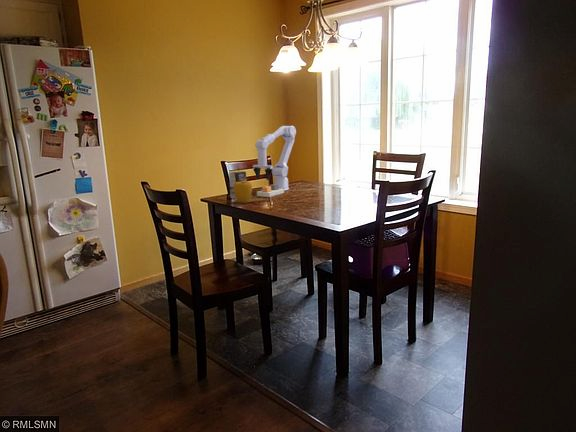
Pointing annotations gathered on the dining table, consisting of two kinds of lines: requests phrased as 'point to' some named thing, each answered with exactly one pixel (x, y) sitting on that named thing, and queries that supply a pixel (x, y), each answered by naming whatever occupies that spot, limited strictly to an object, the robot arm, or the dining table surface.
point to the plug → (266, 189)
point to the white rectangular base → (274, 192)
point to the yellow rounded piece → (243, 191)
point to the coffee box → (236, 180)
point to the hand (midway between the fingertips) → (263, 179)
